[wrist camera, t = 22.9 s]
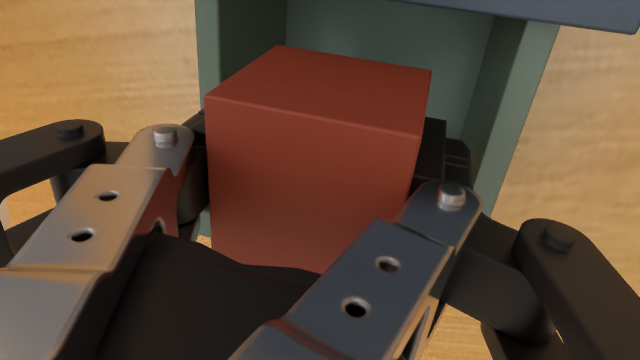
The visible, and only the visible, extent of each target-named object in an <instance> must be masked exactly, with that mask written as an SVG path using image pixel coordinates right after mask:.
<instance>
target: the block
mask: <svg viewBox="0 0 640 360" xmlns="http://www.w3.org/2000/svg"><path fill="white" fill-rule="evenodd" d="M431 76H432V71H431V70H427V69H421V68H415V67H409V66H403V65H397V64H391V63H385V62H379V61H373V60H367V59H361V58H355V57H349V56H343V55H336V54H330V53H324V52H318V51H312V50H306V49H300V48H294V47H288V46H282V45H276V46H275V47H274V48H272V49H271V50H269V51H268V52H266V53H265V54H263V55H262V56H260V57H259V58H257V59H256V60H255V61H253V62H252V63H250V64H249V65H247V66H246V67H244V68H243V69H241V70H240V71H238V72H237V73H236V74H234V75H233V76H231V77H230V78H228V79H227V80H225V81H224V82H222V83H221V84H219V85H218V86H216V87H215V88H214V89H212V90H211V91H209V92H208V93H206V94H205V95H204V113H205V132H206V150H207V169H208V188H209V207H210V226H211V245H212V249H213V250H215V251H217V252H219V253H221V254H223V255H225V256H227V257H229V258H230V259H232V260H234V261H236V262H239V263H242V264H247V265H262V266H277V267H292V268H300V269H303V270H307V271H311V272H315V273H319V274H323V273H324V272H325V271H326V270H327V269H328V268H329V267H330V266H331V264H332V263H333V262H334V261H335V260H336V259H337V258H338V257H339V256H340V255H341V254H342V253H343V252H344V250H345V249H346V248H347V247H348V246H349V245H350V244H351V243H352V242H353V241H354V240H355V239H356V238H357V236H358V235H359V234H360V233H361V232H362V231H363V230H364V229H365V228H366V227H367V226H368V225H369V223H370V222H371V221H372V220H373V219H374V218H375V217H377V216H382V217H384V218H387V219H389V220H391V218H392V217H393V216H394V215H395V214H396V213H397V211H398V210H399V209H400V208H401V207H402V206H403V205H404V203H405V202H406V201H407V199H408V195H409V190H410V186H411V182H412V178H413V173H414V169H415V165H416V161H417V156H418V152H419V148H420V144H421V140H422V133H423V127H424V121H425V114H426V108H427V102H428V95H429V89H430V83H431Z"/></svg>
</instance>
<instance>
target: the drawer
mask: <svg viewBox="0 0 640 360" xmlns="http://www.w3.org/2000/svg"><path fill="white" fill-rule="evenodd" d="M195 17H196V34H197V52H198V69H199V86H200V104H201V110H202V109H204V95H205V94H206V93H208V92H209V91H211V90H212V89H214V88H215V87H216V86H218V85H219V84H221V83H222V82H224V81H225V80H227V79H228V78H230V77H231V76H233V75H234V74H236V73H237V72H238V71H240V70H241V69H243V68H244V67H246V66H247V65H249V64H250V63H252V62H253V61H255V60H256V59H257V58H259V57H260V56H262V55H263V54H265V53H266V52H268V51H269V50H271V49H272V48H274V47H275V46H276V45H282V46H288V47H294V48H300V49H306V50H312V51H318V52H324V53H330V54H336V55H343V56H349V57H355V58H361V59H367V60H373V61H379V62H385V63H391V64H397V65H403V66H409V67H415V68H421V69H427V70H431V71H432V76H431V83H430V89H429V95H428V102H427V108H426V114H425V116H426V117H431V118H437V119H442V120H447V127H446V138H451V139H456V140H462V141H463V142H464V143H465V144H466V146H467V147H468V148H469V149H470V151H471V166H472V168H471V170H472V181H473V191H474V192H476V193H477V194H478V195H479V196H480V198H481V199H482V202H483V207H482V210H481V212H483V213H484V214H485V215H486V216H488V217H489V218H490V216H491V213H492V211H493V208H494V205H495V202H496V200H497V197H498V194H499V191H500V189H501V186H502V183H503V181H504V178H505V175H506V172H507V170H508V167H509V164H510V161H511V159H512V156H513V153H514V151H515V148H516V145H517V142H518V140H519V137H520V134H521V131H522V129H523V126H524V123H525V121H526V118H527V115H528V112H529V110H530V107H531V104H532V101H533V99H534V96H535V93H536V91H537V88H538V85H539V82H540V80H541V77H542V74H543V71H544V69H545V66H546V63H547V61H548V58H549V55H550V52H551V50H552V47H553V44H554V41H555V39H556V36H557V33H558V31H559V28H560V25H556V24H549V23H542V22H535V21H528V20H521V19H514V18H506V17H499V16H492V15H485V14H478V13H471V12H464V11H457V10H449V9H442V8H435V7H428V6H421V5H414V4H407V3H399V2H392V1H385V0H195ZM200 221H201V226H200V230H199V233H198V234H199V235H203V236H207V237H211V226H210V211H206V210H203V211H202V212H201V214H200Z"/></svg>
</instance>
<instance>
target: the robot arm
mask: <svg viewBox="0 0 640 360" xmlns="http://www.w3.org/2000/svg"><path fill="white" fill-rule="evenodd" d="M446 127H447V120H442V119H437V118H431V117H426V116H425V121H424V127H423V133H422V140H421V144H420V148H419V152H418V156H417V161H416V165H415V169H414V173H413V178H412V182H411V186H410V190H409V195H408V199H407V201H406V202H405V203H404V205H403V206H402V207H401V208H400V209H399V210H398V211H397V213H396V214H395V215H394V216H393V217H392V218H391V220H389V219H387V218H384V217H382V216H377V217H375V218H374V219H373V220H372V221H371V222H370V223H369V225H368V226H367V227H366V228H365V229H364V230H363V231H362V232H361V233H360V234H359V235H358V236H357V238H356V239H355V240H354V241H353V242H352V243H351V244H350V245H349V246H348V247H347V248H346V249H345V250H344V252H343V253H342V254H341V255H340V256H339V257H338V258H337V259H336V260H335V261H334V262H333V263H332V264H331V266H330V267H329V268H328V269H327V270H326V271H325V272H324V273H323V274H319V273H315V272H311V271H307V270H303V269H300V268H292V267H277V266H262V265H247V264H242V263H239V262H236V261H234V260H232V259H230V258H229V257H227V256H225V255H223V254H221V253H219V252H217V251H215V250H213V249H211V248H209V247H207V246H205V245H203V244H201V243H198V242H196V239H197V236H198V233H199V230H200V226H201V221H200V214H201V212H202V211H203V210H206V211H210V207H209V188H208V169H207V150H206V132H205V113H204V109H202V110H201V111H199V112H198V114H195V115H194V116H193V117H191V118H190V119H189V120H187V121H186V122H185V123H183V124H182V125H177V124H158V125H153V126H149V127H146V128H144V129H142V130H140V131H139V132H137V133H136V135H135V136H134V137H133V139H132V140H131V141H130V142H106V141H105V137H104V132H103V127H102V126H101V125H100V124H99V123H97V122H94V121H90V120H81V119H75V120H65V121H60V122H56V123H52V124H49V125H46V126H43V127H40V128H36V129H33V130H30V131H27V132H24V133H21V134H18V135H15V136H11V137H8V138H5V139H2V140H0V204H1V202H2V201H3V200H4V199H5V198H6V197H7V196H9V195H10V194H12V193H15V192H17V191H19V190H22V189H24V188H27V187H29V186H32V185H34V184H36V183H39V182H41V181H44V180H46V179H50V182H51V186H52V190H53V193H54V197H55V200H56V204H57V205H56V206H55V208H52V209H50V210H48V211H46V212H44V213H42V214H40V215H37V216H35V217H33V218H31V219H29V220H27V221H25V222H22V223H20V224H18V225H16V226H14V227H12V228H10V229H8V230H5V231H4V229H3V226H2V223H1V221H0V360H421V357H422V355H423V353H424V351H425V349H426V347H427V345H428V343H429V341H430V339H431V337H432V335H433V333H434V331H435V329H436V327H437V325H438V323H439V321H440V319H441V317H442V315H443V313H444V311H445V309H446V307H447V305H450V306H452V307H454V308H456V309H458V310H460V311H461V312H463V313H465V314H467V315H469V316H471V317H473V318H475V319H477V320H479V321H481V331H482V334H483V337H484V339H485V341H486V344H487V346H488V349H489V351H490V353H491V356H492V358H493V360H640V298H639V296H638V295H637V294H636V293H635V292H634V291H633V289H632V288H631V287H630V286H629V285H628V284H627V282H626V281H625V280H624V279H623V278H622V277H621V275H620V274H619V273H618V272H617V271H616V270H615V268H614V267H613V266H612V265H611V264H610V263H609V261H608V260H607V259H606V258H605V257H604V256H603V254H602V253H601V252H600V251H599V250H598V249H597V247H596V246H595V245H594V244H593V243H592V242H591V241H590V240H589V239H588V238H587V237H586V236H585V235H584V234H582V233H581V232H579V231H578V230H576V229H574V228H572V227H570V226H568V225H566V224H563V223H561V222H557V221H554V220H549V219H542V218H536V219H530V220H527V221H525V222H524V223H523V224H522V225H521V227H520V230H519V231H517V230H515V229H512V228H510V227H507V226H505V225H503V224H500V223H498V222H496V221H494V220H492V219H491V218H489V217H488V216H486V215H485V214H484V213H483V212H481V210H482V207H483V202H482V199H481V198H480V196H479V195H478V194H477V193H476V192H474V191H473V181H472V170H471V168H472V166H471V151H470V149H469V148H468V147H467V146H466V144H465V143H464V142H463V141H462V140H456V139H451V138H446ZM556 330H557V331H558V332H559V334H560V336H561V338H562V340H563V342H564V344H563V342H562V341H561V339H560V337H559V335H558V334H557V332H556Z"/></svg>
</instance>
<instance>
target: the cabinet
mask: <svg viewBox="0 0 640 360" xmlns="http://www.w3.org/2000/svg"><path fill="white" fill-rule="evenodd" d="M385 1H392V2H399V3H407V4H414V5H421V6H428V7H435V8H442V9H449V10H457V11H464V12H471V13H478V14H485V15H492V16H499V17H506V18H514V19H521V20H528V21H535V22H542V23H549V24H556V25H564V26H571V27H578V28H585V29H592V30H599V31H606V32H614V33H621V34H628V35H633V34H636V33H637V31H638V29H639V27H640V0H385Z"/></svg>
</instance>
